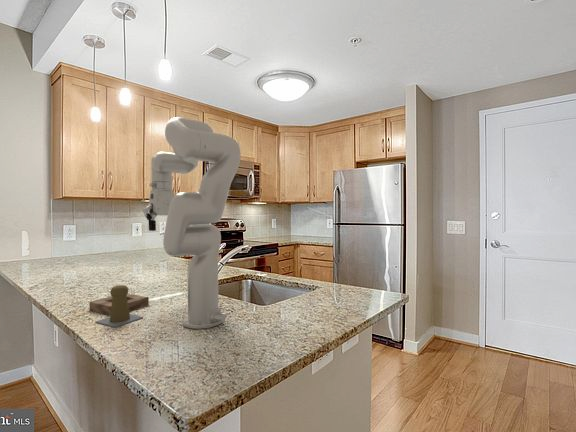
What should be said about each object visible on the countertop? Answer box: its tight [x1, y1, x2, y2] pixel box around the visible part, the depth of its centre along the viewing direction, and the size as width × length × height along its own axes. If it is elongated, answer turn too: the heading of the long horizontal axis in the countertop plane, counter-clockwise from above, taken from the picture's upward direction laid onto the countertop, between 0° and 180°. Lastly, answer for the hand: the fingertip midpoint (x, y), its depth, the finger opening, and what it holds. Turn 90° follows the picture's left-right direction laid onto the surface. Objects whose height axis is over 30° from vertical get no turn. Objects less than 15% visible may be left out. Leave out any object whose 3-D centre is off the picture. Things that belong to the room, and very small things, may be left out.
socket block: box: [88, 293, 150, 316], centre depth 119 cm, size 14×14×3 cm
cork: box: [109, 284, 131, 323], centre depth 105 cm, size 6×6×11 cm
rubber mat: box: [95, 313, 144, 328], centre depth 105 cm, size 10×10×1 cm
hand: (162, 229), depth 128 cm, fingers open, 9 cm apart
